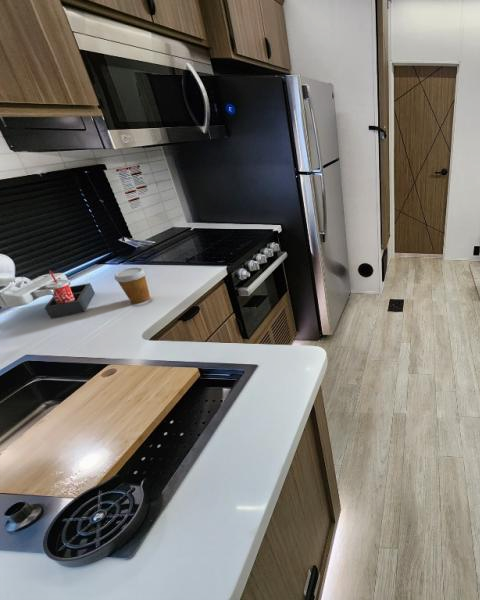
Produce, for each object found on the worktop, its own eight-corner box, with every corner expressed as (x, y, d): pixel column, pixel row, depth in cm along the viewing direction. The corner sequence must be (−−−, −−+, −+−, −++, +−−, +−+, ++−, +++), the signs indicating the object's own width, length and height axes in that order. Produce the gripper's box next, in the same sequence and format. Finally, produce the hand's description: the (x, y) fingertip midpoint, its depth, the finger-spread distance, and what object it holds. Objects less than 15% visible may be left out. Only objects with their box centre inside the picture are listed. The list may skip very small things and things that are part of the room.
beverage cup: (82, 300, 127) (65, 266, 120) (73, 307, 122) (55, 272, 115) (63, 302, 125) (44, 268, 119) (53, 310, 120) (33, 274, 114)
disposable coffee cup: (152, 292, 137) (141, 265, 131) (157, 299, 131) (146, 271, 125) (124, 299, 131) (111, 272, 125) (128, 308, 125) (115, 279, 119)
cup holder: (51, 318, 119) (44, 307, 117) (65, 298, 133) (59, 288, 130) (84, 312, 123) (78, 301, 121) (95, 293, 137) (90, 283, 135)
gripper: (46, 284, 129) (85, 282, 131) (-3, 310, 111) (43, 308, 113) (38, 270, 126) (78, 268, 128) (-14, 294, 108) (33, 291, 110)
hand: (61, 287), depth 120 cm, fingers closed on beverage cup, 6 cm apart
